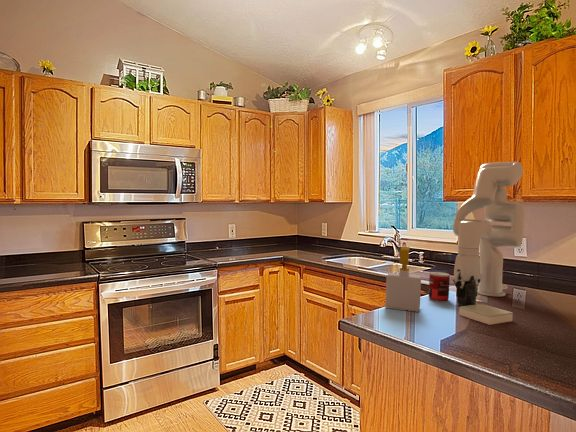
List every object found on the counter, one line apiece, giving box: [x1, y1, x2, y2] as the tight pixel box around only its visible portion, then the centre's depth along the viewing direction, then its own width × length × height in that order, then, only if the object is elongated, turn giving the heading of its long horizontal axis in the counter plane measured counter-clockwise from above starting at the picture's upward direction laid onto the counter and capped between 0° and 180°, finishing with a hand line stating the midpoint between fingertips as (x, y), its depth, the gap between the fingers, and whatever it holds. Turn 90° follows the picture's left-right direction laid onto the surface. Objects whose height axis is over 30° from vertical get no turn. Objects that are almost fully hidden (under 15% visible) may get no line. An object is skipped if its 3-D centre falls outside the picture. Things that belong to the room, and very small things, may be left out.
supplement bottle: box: [456, 276, 478, 306], centre depth 152 cm, size 7×7×12 cm
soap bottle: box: [385, 246, 422, 313], centre depth 145 cm, size 12×7×23 cm, turn 68°
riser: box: [458, 303, 514, 325], centre depth 136 cm, size 12×12×3 cm
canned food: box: [428, 271, 451, 302], centre depth 162 cm, size 8×8×11 cm
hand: (466, 296), depth 152 cm, fingers closed on supplement bottle, 6 cm apart
